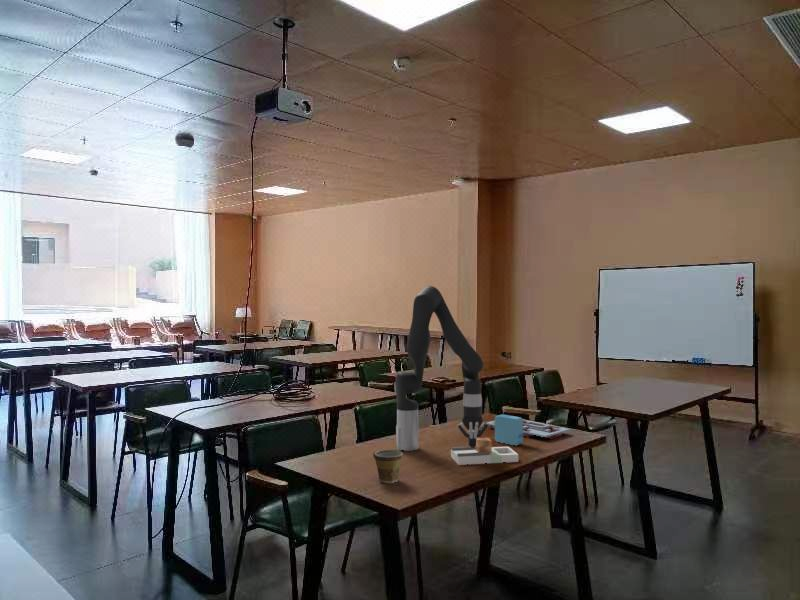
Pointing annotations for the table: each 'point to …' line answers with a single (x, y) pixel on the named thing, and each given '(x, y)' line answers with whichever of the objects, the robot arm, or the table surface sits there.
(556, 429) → the maze game
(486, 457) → the tray
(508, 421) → the blue square slab
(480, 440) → the terracotta cube
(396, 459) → the ceramic cup
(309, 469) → the table surface
